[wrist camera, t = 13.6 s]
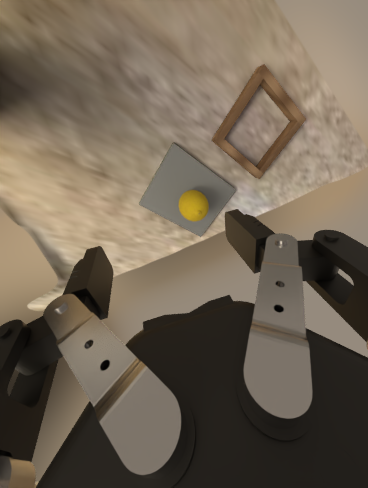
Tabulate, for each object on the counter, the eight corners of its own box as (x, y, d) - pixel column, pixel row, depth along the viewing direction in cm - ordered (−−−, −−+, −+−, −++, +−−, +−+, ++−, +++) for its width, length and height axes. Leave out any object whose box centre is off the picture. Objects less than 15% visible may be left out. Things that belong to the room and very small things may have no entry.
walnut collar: (211, 140, 35) (215, 141, 33) (257, 67, 30) (264, 64, 29) (254, 176, 40) (259, 178, 38) (298, 119, 36) (306, 119, 34)
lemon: (195, 214, 41) (206, 231, 34) (171, 207, 39) (178, 223, 32) (205, 189, 38) (219, 203, 32) (180, 181, 36) (190, 193, 30)
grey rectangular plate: (139, 203, 38) (139, 204, 37) (172, 142, 34) (173, 143, 33) (199, 234, 45) (200, 236, 44) (234, 188, 41) (236, 189, 40)
